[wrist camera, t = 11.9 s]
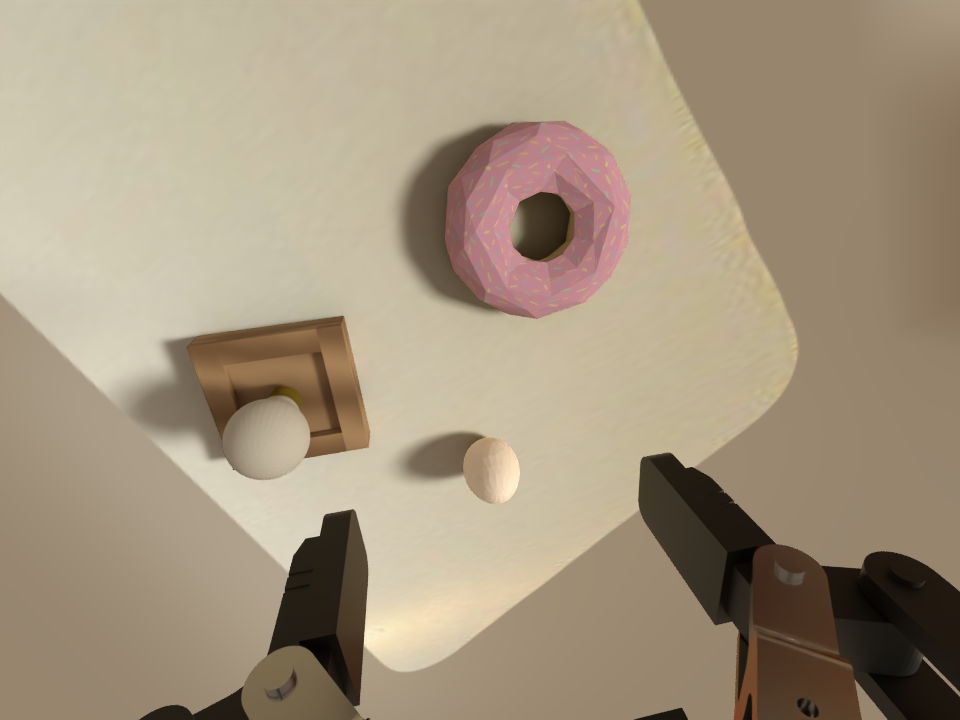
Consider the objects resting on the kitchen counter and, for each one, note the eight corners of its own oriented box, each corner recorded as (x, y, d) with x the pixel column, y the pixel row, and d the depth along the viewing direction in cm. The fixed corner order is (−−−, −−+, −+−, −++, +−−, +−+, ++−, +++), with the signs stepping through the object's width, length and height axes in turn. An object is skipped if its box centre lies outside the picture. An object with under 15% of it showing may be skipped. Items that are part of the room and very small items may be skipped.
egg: (520, 443, 49) (541, 491, 42) (485, 477, 50) (499, 529, 43) (484, 415, 47) (499, 460, 40) (448, 451, 48) (457, 501, 41)
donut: (624, 281, 44) (650, 295, 39) (468, 328, 43) (477, 348, 39) (601, 97, 37) (629, 89, 33) (417, 149, 37) (420, 148, 32)
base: (198, 336, 39) (186, 346, 37) (343, 316, 41) (340, 325, 38) (241, 454, 44) (233, 470, 42) (370, 432, 45) (368, 447, 43)
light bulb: (271, 433, 42) (237, 508, 33) (238, 377, 40) (191, 442, 31) (333, 411, 42) (316, 480, 33) (305, 355, 40) (278, 413, 31)
